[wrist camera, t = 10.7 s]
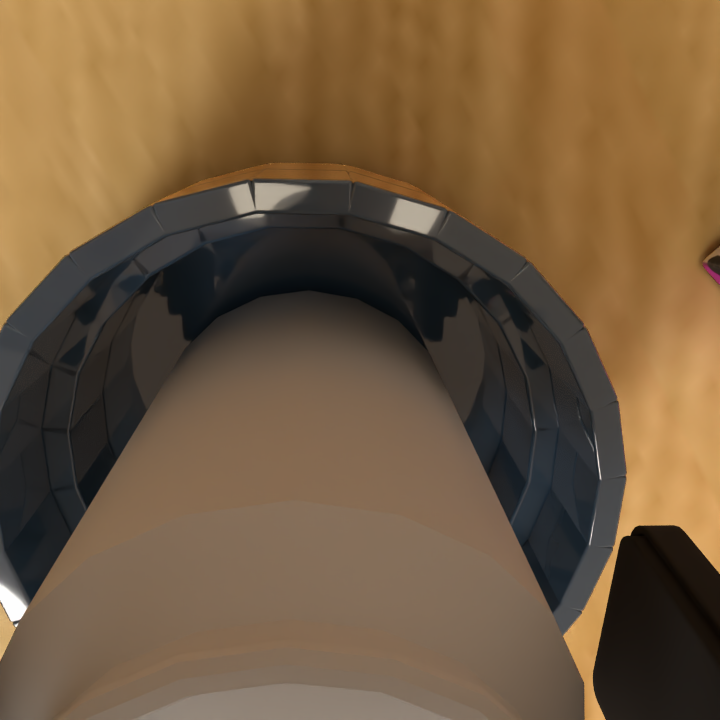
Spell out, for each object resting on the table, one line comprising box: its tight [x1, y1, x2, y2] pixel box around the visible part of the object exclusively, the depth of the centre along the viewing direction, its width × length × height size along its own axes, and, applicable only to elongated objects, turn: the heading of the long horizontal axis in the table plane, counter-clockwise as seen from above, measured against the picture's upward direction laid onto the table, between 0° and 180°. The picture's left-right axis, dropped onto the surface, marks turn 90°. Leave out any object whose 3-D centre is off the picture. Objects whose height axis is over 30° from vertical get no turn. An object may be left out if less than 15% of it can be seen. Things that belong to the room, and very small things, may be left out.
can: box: [0, 290, 584, 720], centre depth 12 cm, size 8×8×12 cm
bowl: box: [0, 162, 627, 636], centre depth 16 cm, size 13×13×6 cm
